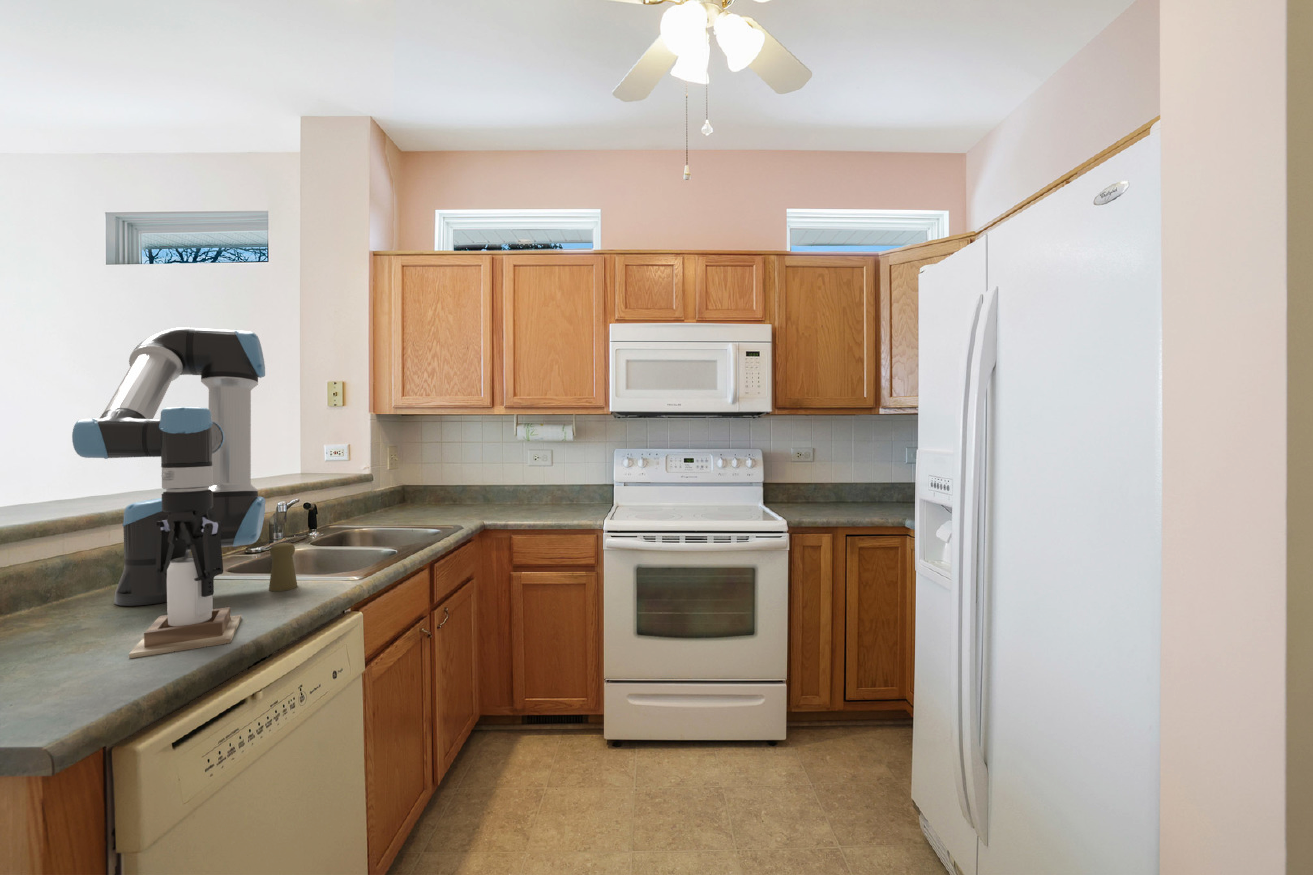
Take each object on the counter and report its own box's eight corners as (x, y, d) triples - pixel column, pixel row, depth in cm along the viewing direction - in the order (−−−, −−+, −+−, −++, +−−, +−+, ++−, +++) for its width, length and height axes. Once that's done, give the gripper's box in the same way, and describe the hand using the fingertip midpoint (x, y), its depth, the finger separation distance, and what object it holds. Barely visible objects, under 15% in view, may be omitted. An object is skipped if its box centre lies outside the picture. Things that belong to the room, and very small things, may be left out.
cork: (276, 585, 147) (276, 541, 146) (302, 584, 147) (301, 540, 147) (263, 591, 140) (262, 546, 140) (289, 590, 141) (289, 545, 141)
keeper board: (153, 630, 113) (152, 613, 113) (241, 618, 120) (241, 602, 120) (128, 658, 99) (128, 639, 99) (230, 642, 106) (229, 624, 106)
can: (187, 629, 106) (186, 563, 106) (158, 626, 107) (157, 561, 107) (220, 617, 112) (219, 555, 112) (193, 615, 113) (191, 554, 113)
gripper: (127, 490, 108) (130, 614, 109) (206, 492, 103) (208, 622, 103) (171, 486, 115) (173, 602, 116) (246, 488, 110) (248, 609, 111)
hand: (190, 611), depth 110 cm, fingers closed on can, 6 cm apart
